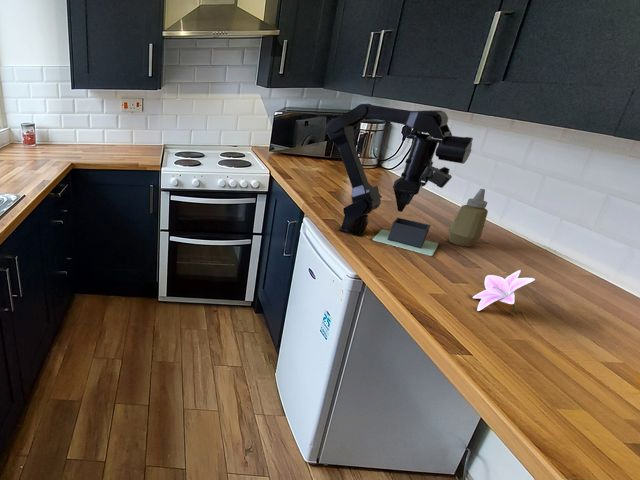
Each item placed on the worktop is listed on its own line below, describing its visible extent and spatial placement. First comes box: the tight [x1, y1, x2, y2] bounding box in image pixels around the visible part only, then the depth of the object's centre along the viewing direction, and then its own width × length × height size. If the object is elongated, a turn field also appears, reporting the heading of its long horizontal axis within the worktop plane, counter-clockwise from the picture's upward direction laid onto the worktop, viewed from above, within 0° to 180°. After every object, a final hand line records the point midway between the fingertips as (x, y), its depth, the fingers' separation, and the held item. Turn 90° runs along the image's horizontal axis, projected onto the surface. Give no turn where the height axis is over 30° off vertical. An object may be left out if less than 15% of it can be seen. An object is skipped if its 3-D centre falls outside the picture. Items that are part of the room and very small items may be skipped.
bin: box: [387, 217, 431, 249], centre depth 126 cm, size 9×6×6 cm
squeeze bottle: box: [448, 188, 489, 248], centre depth 124 cm, size 8×8×18 cm
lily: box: [472, 269, 536, 313], centre depth 92 cm, size 12×12×10 cm
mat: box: [372, 228, 439, 257], centre depth 127 cm, size 16×12×1 cm
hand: (403, 207), depth 121 cm, fingers open, 9 cm apart
